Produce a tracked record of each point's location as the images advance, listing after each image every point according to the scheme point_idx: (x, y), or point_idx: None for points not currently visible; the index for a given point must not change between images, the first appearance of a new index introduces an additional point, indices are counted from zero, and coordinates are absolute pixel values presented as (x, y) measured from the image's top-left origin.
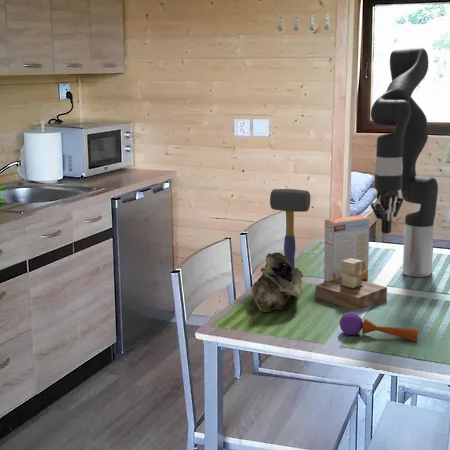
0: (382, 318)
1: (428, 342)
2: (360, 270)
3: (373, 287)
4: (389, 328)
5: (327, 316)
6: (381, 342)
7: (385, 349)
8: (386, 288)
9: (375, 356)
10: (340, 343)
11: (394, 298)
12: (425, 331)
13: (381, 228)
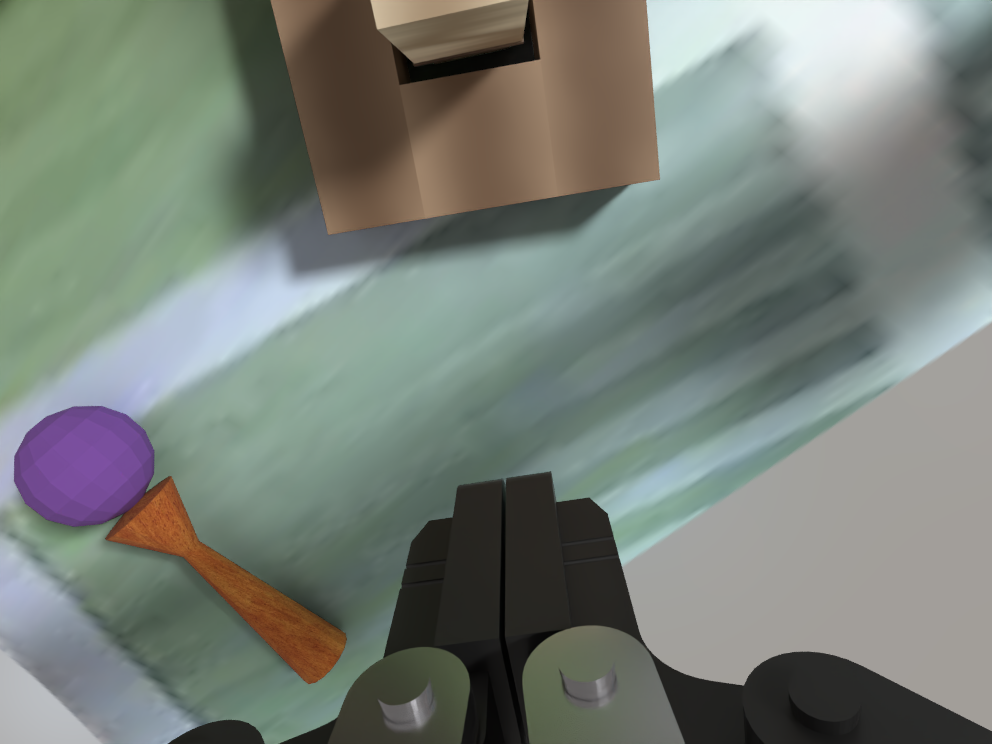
0: (389, 384)
1: (359, 670)
2: (502, 22)
3: (577, 122)
4: (224, 598)
5: (135, 189)
6: (185, 578)
7: (155, 630)
8: (650, 180)
9: (78, 651)
10: (10, 497)
11: (705, 181)
12: None
13: (410, 555)
